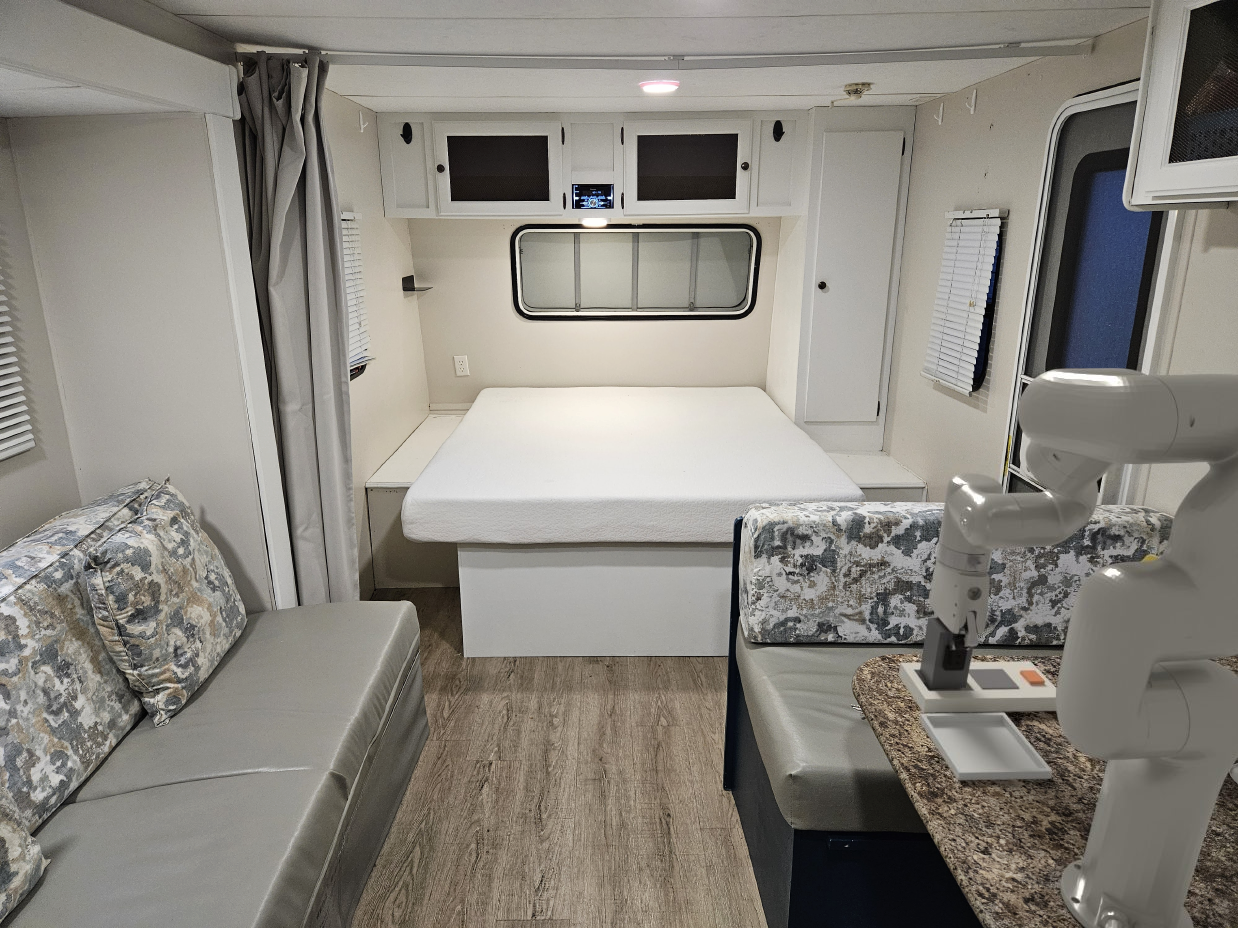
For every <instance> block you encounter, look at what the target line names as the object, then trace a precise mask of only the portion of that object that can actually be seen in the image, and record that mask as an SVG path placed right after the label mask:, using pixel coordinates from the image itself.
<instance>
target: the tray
mask: <svg viewBox="0 0 1238 928" xmlns="http://www.w3.org/2000/svg"><path fill="white" fill-rule="evenodd" d="M918 722H919V723H920V724H921V726H922V728H924V729H923V730H925V732H926V734H927V735H928V737H929V738H930V740H931V741H932V743H933V745H934V746H935V747H936V750H938V753H939V754H940V755H941V756H942V758H943V760H944V762H945V763H946V765H947V766H948V768H949V769H950V771H951V772H952V773H953V775H954V777H955V778H956V780H957V781H989V780H990V781H992V780H993V781H996V780H997V781H998V780H1045V779H1046V780H1049V779H1050V780H1051V779H1052V777H1053V770H1052V769H1051V766H1049V765H1048V764H1047V762H1046V761H1045V760H1044V759H1043V757H1042V756H1041V755H1040V753H1039V752H1038V751H1037V750H1036V749H1035V748H1034V746H1033V745H1032V744H1031V743H1030V742H1029V741H1028V739H1027V738H1026V737H1025V736H1024V735H1023V733H1022V732H1021V731H1020V729H1018V727H1017V726H1016V725H1015V724H1014V722H1013V721H1012V720H1011V719H1010V717H1008V715H1007V714H1006V713H1005V712H934V713H920V714H919V719H918Z"/></svg>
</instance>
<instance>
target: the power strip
mask: <svg viewBox="0 0 1238 928" xmlns="http://www.w3.org/2000/svg"><path fill="white" fill-rule="evenodd" d="M920 666H921V662H900V663H899V669H898V670H899V671H898V677H899V679H900V680H901V681H902V683H903V685H904V686H905V688H906V689H907V691H908V692H909V694H910V695H911V696H912V699H913V700H914V701H915V703H916V704H917V705H918V707H919V708H920V710H921V712H922V714H932V713H1005V712H1057V711H1056V688H1057V686H1055V685H1054V684H1053V683H1052V682H1051V681H1050V680H1049V679H1048V678H1047V677H1046V676H1045V675H1044V674H1043V673H1042V672H1041V670H1040V669H1038V667H1037V666H1036V665H1034V664H1033V662H1032V661H971V662H970V668H969V673H968V679H967V684H966V688H930V686H929V685H928V684H927V682H926V681H925V679H924V678H923V676H922V675H921V674H920Z"/></svg>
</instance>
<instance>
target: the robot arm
mask: <svg viewBox="0 0 1238 928" xmlns="http://www.w3.org/2000/svg"><path fill="white" fill-rule="evenodd" d="M1017 419H1018V423H1019V426H1020V429H1021V430H1022V432H1023V434H1024V435H1025V437H1027V439H1028V440H1029V443H1028V445H1027V447H1026V451H1025V462H1026V466H1027V468H1028V470H1029V472H1030V473H1031V475H1032V476H1033V478H1034V479H1035V480H1036V481H1037V482H1038V483H1039V484H1040V485H1042V486H1043V487H1044V488H1046V489H1045V490H1043V491H1041V492H1009V493H1008V492H1007V493H1004V489H1003V488H1004V487H1003V485H1002V484H1001V483H1000V481H998V480H997V479H995V478H993V477H990V476H988V475H984V474H978V473H968V472H967V473H958V474H956V475H954V476H952V477H951V478H950V480H949V481H948V484H947V487H946V494H945V502H944V507H943V512H942V519H941V524H940V525H941V526H940V530H939V537H938V543H937V550H936V557H935V565H934V570H933V574H932V578H931V583H930V587H929V594H928V604H929V606H930V608H931V614H932V618H940V620H941V621H942V622H943V623H944V624H945V625H946V627H947V628H948V629H949V630H950V633H949V646H946V649H945V655H944V661H943V669H944V670H945V671H957V670H963V669H964V666H965V661H966V655H967V650H969V649H970V647H972V646H973V647H977V646H978V645H979V639H978V634H979V635H982V634H983V633H984V632H985V629H986V625H987V616H988V610H989V600H990V598H989V597H990V574H989V573H988V572H989V571H990V567H991V561H992V557H993V551H994V549H995V550H996V549H1011V548H1012V549H1013V548H1037V547H1038V548H1040V547H1050V546H1055V545H1058V544H1060V543H1062V542H1064V541H1066V540H1067V539H1069V538H1071V536H1073V535H1074V534H1075V533H1076V532H1078V531H1079V530H1080V529H1081V528H1083V527H1084V526H1085V525H1086V524H1087V523H1088V522H1089V521H1090V519H1091V518H1092V517H1093V516H1094V513H1095V510H1096V508H1097V503H1098V498H1099V486H1098V481H1099V480H1100V479H1101V478H1103V476H1105V474H1107V472H1109V471H1110V470H1111V469H1112V468H1113V467H1114V466H1116V465H1117V464H1126V465H1150V464H1152V465H1154V464H1156V465H1157V464H1189V463H1192V464H1193V463H1207V464H1208V465H1209V470H1208V472H1207V473H1205V475H1204V476H1203V477H1202V478H1201V479H1200V480H1198V481H1197V482H1196V484H1194V485H1193V486H1192V487H1191V489H1190V490H1189V491H1188V493H1187V494H1186V496H1185V497H1184V498H1183V499H1182V501H1181V502H1180V504H1179V505H1178V508H1177V510H1176V511H1175V514H1174V516H1173V519H1172V525H1171V529H1170V533H1169V534H1170V535H1169V537H1168V541H1167V544H1166V546H1165V549H1164V551H1163V553H1162V554H1161V556H1158V557H1159V558H1158V559H1156V560H1154V561H1142V560H1141V561H1142V562H1141V561H1127V562H1124V561H1123V562H1118V563H1116V562H1115V563H1113V564H1108V565H1105V566H1102V567H1100V568H1098V569H1097V570H1095V571H1093V572H1092V573H1091V574H1090V575H1089V576H1088V577H1087V578H1086V579H1085V580H1084V581H1083V582H1082V584H1081V586H1080V587H1079V589H1078V591H1077V593H1076V595H1075V598H1074V602H1073V606H1072V609H1071V614H1070V617H1069V622H1068V623H1069V624H1068V627H1067V633H1066V638H1065V644H1064V647H1063V652H1062V657H1061V661H1060V665H1059V669H1058V670H1059V672H1058V675H1057V683H1056V711H1055V712H1056V716H1057V719H1058V720H1057V721H1058V723H1059V726H1060V728H1061V731H1062V733H1063V735H1064V736H1065V738H1066V739H1067V741H1068V742H1069V743H1070V745H1072V746H1073V748H1075V749H1076V750H1078V751H1079V752H1081V753H1083V754H1084V755H1085V756H1089V757H1091V758H1094V759H1097V760H1105V761H1107V764H1106V767H1105V770H1104V774H1103V775H1104V776H1103V778H1102V782H1101V787H1100V791H1099V795H1098V798H1097V803H1096V806H1095V811H1094V814H1093V819H1092V821H1091V826H1090V830H1089V833H1088V834H1089V835H1088V838H1087V842H1086V846H1085V849H1084V854H1083V858H1081V859H1076V860H1075V861H1072V862H1071V863H1069V864H1068V865H1067V866H1066V867H1065V868H1064V870H1063V871H1062V874H1061V879H1060V883H1059V884H1060V885H1059V888H1060V893H1061V897H1062V899H1063V902H1064V904H1065V906H1066V907H1067V909H1068V911H1070V913H1071V914H1072V915H1073V917H1074V918H1075V919H1076V920H1077V921H1078V922H1079V923H1080V925H1082V926H1083V927H1084V928H1195V927H1194V923H1193V920H1192V917H1191V915H1190V914H1189V912H1188V910H1187V909H1186V907H1185V906H1184V904H1185V901H1186V898H1187V895H1188V892H1189V888H1190V885H1191V881H1192V878H1193V876H1194V873H1195V870H1196V865H1197V864H1198V859H1199V856H1200V853H1201V849H1202V846H1203V843H1204V840H1205V838H1206V833H1207V830H1208V828H1209V824H1210V822H1211V818H1212V815H1213V812H1214V809H1215V805H1216V803H1217V800H1218V796H1219V794H1220V791H1221V788H1222V787H1223V783H1224V782H1225V780H1226V778H1227V776H1228V773H1229V772H1230V771H1231V768H1232V767H1233V766H1234V764H1235V762H1236V761H1237V759H1238V675H1237V674H1235V673H1234V672H1233V671H1232V670H1230V669H1229V668H1227V667H1226V666H1224V665H1222V664H1221V663H1219V662H1216V661H1213V660H1214V659H1215V660H1216V659H1224V658H1229V657H1234V656H1237V655H1238V374H1233V373H1232V374H1231V373H1229V374H1228V373H1194V374H1150V375H1149V374H1146V373H1143V372H1141V371H1137V370H1135V369H1129V368H1118V367H1117V368H1116V367H1114V368H1113V367H1112V368H1111V367H1108V368H1106V367H1105V368H1104V367H1102V368H1100V367H1099V368H1098V367H1097V368H1095V367H1093V368H1091V367H1090V368H1055V369H1051V370H1048V371H1045V372H1044V373H1041V374H1039V375H1038V376H1036V377H1035V378H1034V379H1032V381H1030V383H1029V384H1028V385H1027V386H1026V388H1024V391H1023V392H1022V395H1021V396H1020V400H1019V403H1018V409H1017ZM1030 440H1031V441H1030ZM963 626H964V628H962V627H963ZM956 634H964V635H963V639H958V640H956Z"/></svg>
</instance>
